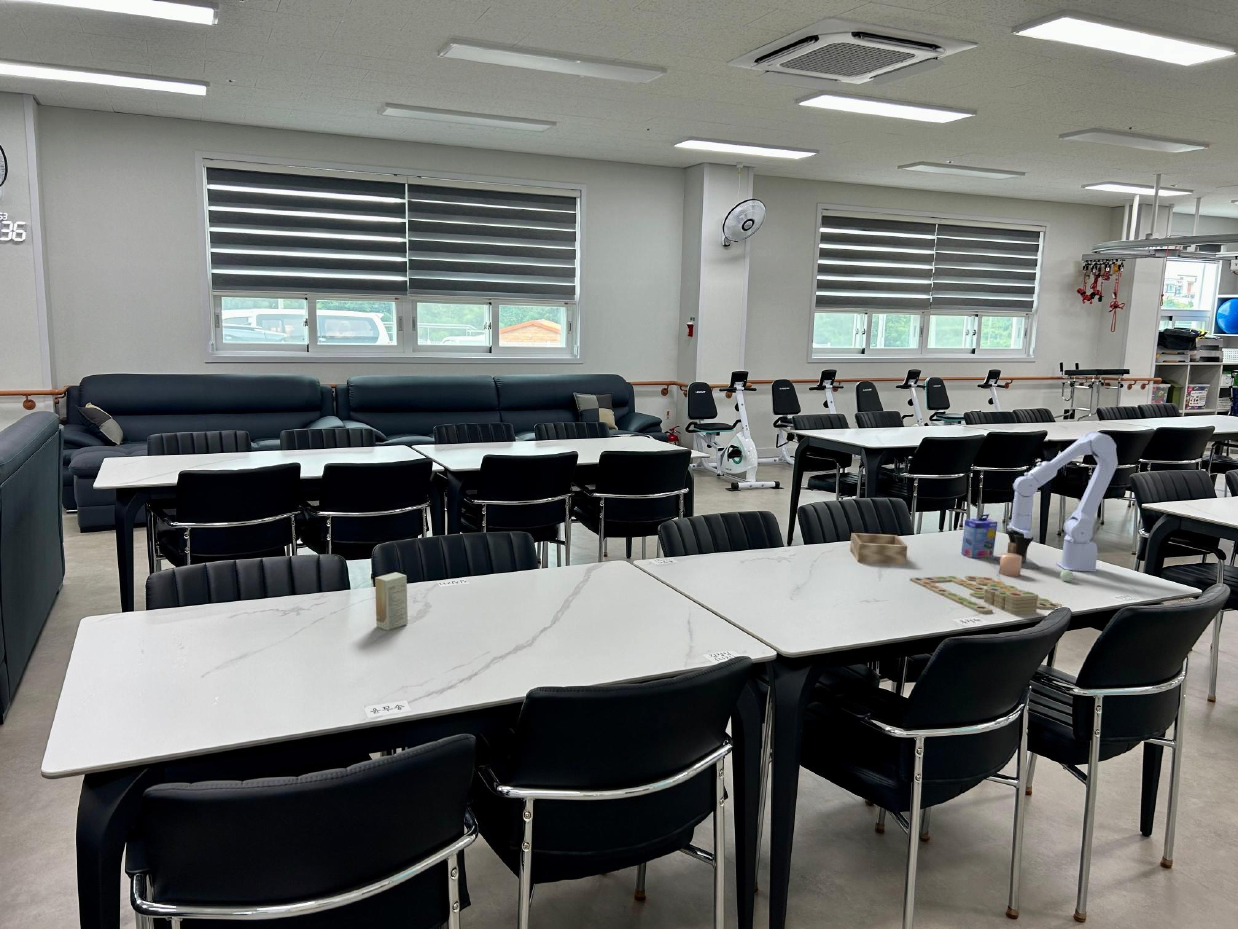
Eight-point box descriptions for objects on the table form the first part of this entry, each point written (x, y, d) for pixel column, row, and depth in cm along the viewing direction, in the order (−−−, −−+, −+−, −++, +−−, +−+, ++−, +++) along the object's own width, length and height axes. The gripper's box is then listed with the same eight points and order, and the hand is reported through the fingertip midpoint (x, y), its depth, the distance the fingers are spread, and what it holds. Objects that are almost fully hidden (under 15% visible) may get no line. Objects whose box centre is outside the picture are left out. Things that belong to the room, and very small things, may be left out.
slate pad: (1028, 560, 292) (1028, 558, 291) (1040, 568, 281) (1040, 567, 281) (993, 558, 292) (993, 556, 292) (1005, 566, 282) (1005, 565, 282)
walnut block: (1020, 559, 288) (1022, 542, 288) (1025, 562, 284) (1027, 546, 283) (1006, 558, 289) (1008, 542, 288) (1011, 562, 284) (1013, 545, 284)
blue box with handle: (972, 558, 291) (976, 516, 289) (960, 554, 296) (964, 512, 294) (994, 556, 295) (999, 514, 293) (982, 552, 300) (986, 510, 298)
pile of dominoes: (1070, 612, 238) (1072, 592, 238) (987, 619, 230) (989, 598, 230) (982, 576, 271) (984, 559, 270) (907, 581, 263) (908, 563, 262)
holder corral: (895, 552, 295) (896, 535, 294) (905, 564, 280) (907, 546, 279) (850, 550, 296) (851, 533, 296) (857, 562, 282) (859, 543, 281)
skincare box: (397, 620, 213) (396, 571, 211) (408, 624, 210) (408, 575, 208) (374, 626, 208) (374, 576, 206) (385, 631, 205) (385, 580, 203)
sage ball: (1069, 580, 269) (1071, 568, 268) (1074, 583, 265) (1075, 572, 265) (1057, 579, 269) (1059, 568, 269) (1062, 582, 266) (1063, 571, 265)
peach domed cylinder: (1016, 572, 276) (1018, 553, 275) (1022, 577, 270) (1024, 558, 269) (996, 571, 277) (998, 552, 276) (1002, 576, 271) (1004, 557, 270)
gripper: (1001, 508, 292) (997, 548, 294) (1017, 517, 277) (1012, 559, 279) (1023, 509, 291) (1019, 549, 293) (1040, 519, 277) (1035, 561, 279)
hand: (1017, 554), depth 286 cm, fingers closed on walnut block, 4 cm apart
